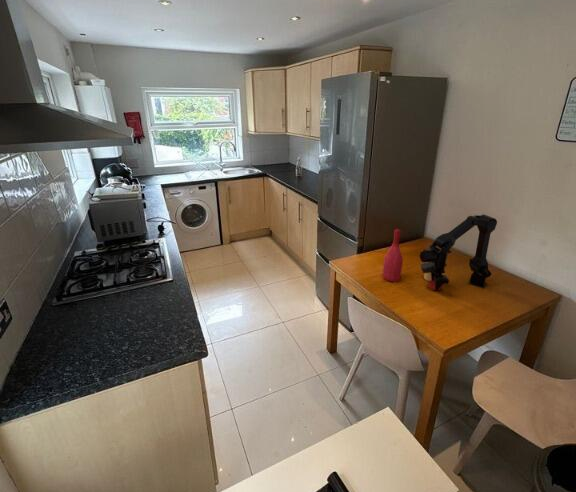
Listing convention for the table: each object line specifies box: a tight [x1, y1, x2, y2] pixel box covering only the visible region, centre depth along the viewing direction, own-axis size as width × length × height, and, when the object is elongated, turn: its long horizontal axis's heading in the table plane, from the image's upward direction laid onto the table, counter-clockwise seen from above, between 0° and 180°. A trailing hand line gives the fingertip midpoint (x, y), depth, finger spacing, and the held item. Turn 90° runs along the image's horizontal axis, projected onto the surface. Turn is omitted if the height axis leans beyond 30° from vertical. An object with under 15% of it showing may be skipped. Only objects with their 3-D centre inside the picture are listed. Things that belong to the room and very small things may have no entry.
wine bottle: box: [382, 228, 404, 283], centre depth 167 cm, size 10×10×30 cm
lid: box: [427, 280, 443, 291], centre depth 162 cm, size 7×7×2 cm
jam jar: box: [423, 273, 431, 282], centre depth 171 cm, size 6×6×9 cm
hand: (434, 286), depth 162 cm, fingers closed on lid, 6 cm apart
